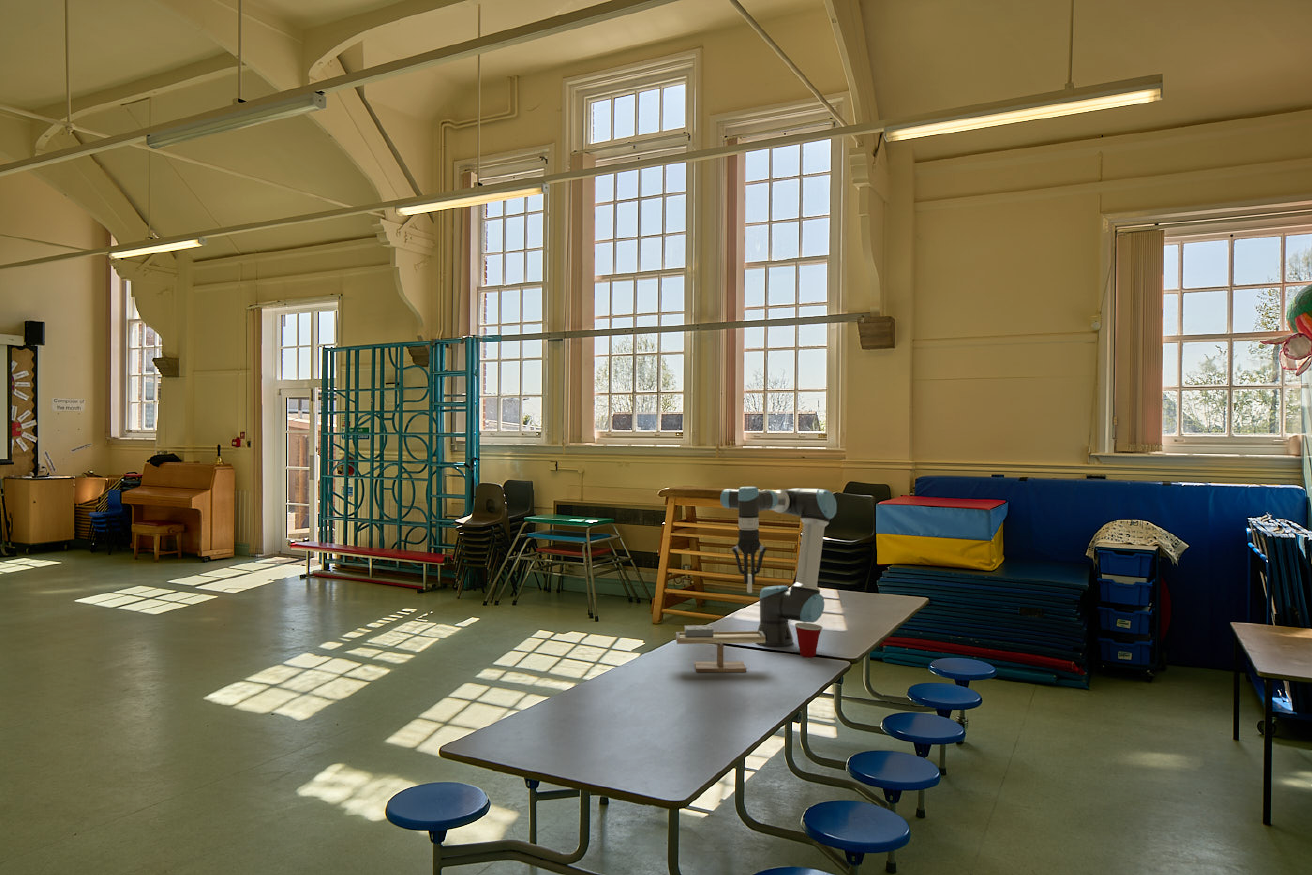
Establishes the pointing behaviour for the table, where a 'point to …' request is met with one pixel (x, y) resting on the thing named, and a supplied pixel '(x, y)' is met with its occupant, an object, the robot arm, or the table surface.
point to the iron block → (699, 631)
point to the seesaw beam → (723, 638)
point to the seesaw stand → (720, 664)
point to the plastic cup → (808, 638)
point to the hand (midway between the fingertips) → (749, 592)
